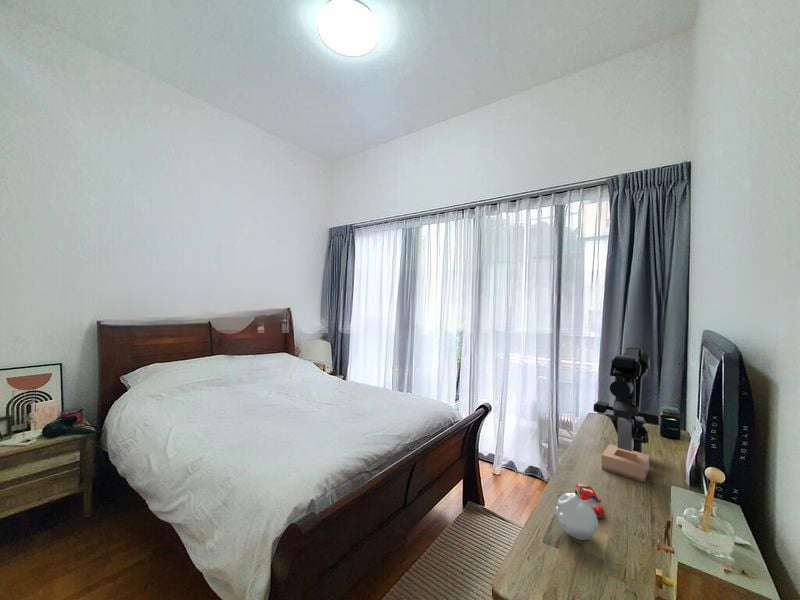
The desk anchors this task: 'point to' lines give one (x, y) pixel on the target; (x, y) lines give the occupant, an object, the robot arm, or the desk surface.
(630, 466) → the well
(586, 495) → the race car
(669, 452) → the desk surface
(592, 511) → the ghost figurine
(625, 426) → the grey rectangular block
